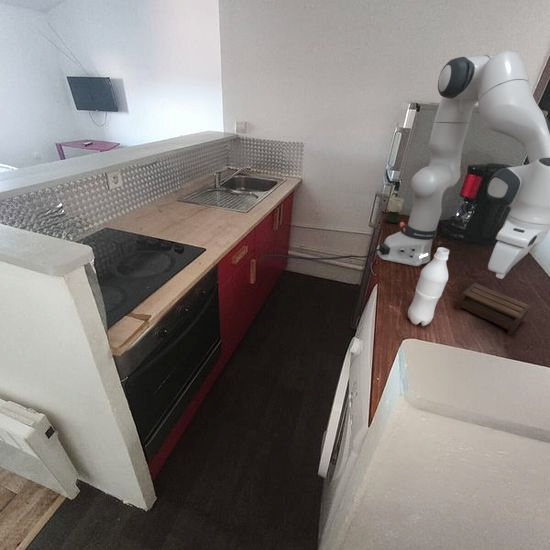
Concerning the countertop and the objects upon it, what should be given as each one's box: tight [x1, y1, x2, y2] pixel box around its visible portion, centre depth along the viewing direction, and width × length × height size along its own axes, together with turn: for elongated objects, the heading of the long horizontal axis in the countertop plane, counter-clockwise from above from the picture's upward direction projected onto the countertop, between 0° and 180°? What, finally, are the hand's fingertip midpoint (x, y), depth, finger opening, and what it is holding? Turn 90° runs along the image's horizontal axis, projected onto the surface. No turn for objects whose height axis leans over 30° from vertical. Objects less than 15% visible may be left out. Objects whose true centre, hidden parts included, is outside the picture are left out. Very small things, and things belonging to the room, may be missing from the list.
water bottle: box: [407, 247, 450, 327], centre depth 86 cm, size 7×7×25 cm
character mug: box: [385, 196, 405, 224], centre depth 161 cm, size 11×7×13 cm, turn 2°
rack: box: [455, 282, 532, 336], centre depth 94 cm, size 10×16×7 cm, turn 39°
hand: (500, 276), depth 80 cm, fingers closed
